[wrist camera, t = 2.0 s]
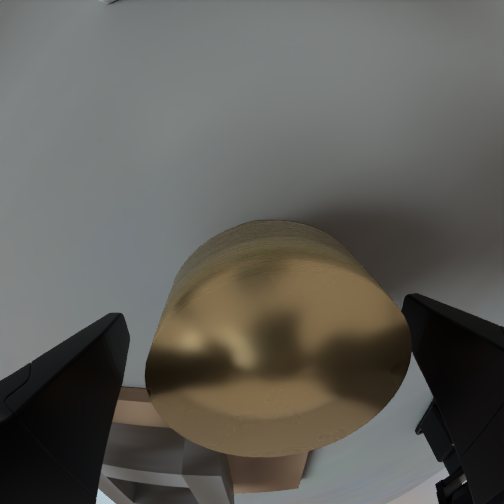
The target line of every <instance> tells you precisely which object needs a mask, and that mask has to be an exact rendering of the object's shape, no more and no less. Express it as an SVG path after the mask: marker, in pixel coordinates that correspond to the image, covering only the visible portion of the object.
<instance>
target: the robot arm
mask: <svg viewBox="0 0 504 504" xmlns="http://www.w3.org/2000/svg"><path fill="white" fill-rule="evenodd" d="M401 312H402V314H403V315H404V317H405V319H406V321H407V324H408V326H409V329H410V334H411V339H412V352H413V355H414V357H415V359H416V361H417V364H418V366H419V368H420V370H421V372H422V374H423V376H424V378H425V380H426V382H427V384H428V386H429V388H430V390H431V393H432V395H433V397H434V399H433V401H432V403H431V404H430V406H429V408H428V410H427V411H426V413H425V415H424V416H423V418H422V420H421V421H420V423H419V425H418V426H417V428H416V429H415V432H416V434H417V435H420V434H422V433H424V435H425V437H426V439H427V441H428V443H429V445H430V447H431V449H432V451H433V453H434V455H435V457H436V459H437V461H438V462H443V463H444V465H445V467H446V469H447V471H448V473H449V475H450V476H448V477H447V478H446V479H444V480H441V481H439V482H438V483H436V484H435V485H436V489H437V497H438V502H439V504H504V327H502V326H499V325H497V324H494V323H492V322H489V321H487V320H484V319H482V318H479V317H477V316H474V315H472V314H469V313H467V312H464V311H462V310H459V309H457V308H454V307H451V306H449V305H446V304H444V303H441V302H439V301H436V300H433V299H431V298H428V297H426V296H423V295H420V294H418V293H414V294H408V295H406V296H405V298H404V302H403V306H402V310H401ZM129 343H130V335H129V331H128V328H127V325H126V321H125V318H124V316H123V314H122V313H109V314H107V315H105V316H104V317H102V318H101V319H99V320H97V321H96V322H94V323H92V324H91V325H89V326H88V327H86V328H84V329H83V330H81V331H80V332H78V333H76V334H75V335H73V336H71V337H70V338H68V339H67V340H65V341H63V342H62V343H60V344H59V345H57V346H56V347H54V348H52V349H51V350H49V351H48V352H46V353H44V354H43V355H41V356H40V357H38V358H37V359H35V360H33V361H32V363H29V364H27V365H26V366H24V367H22V368H21V369H19V370H18V371H16V372H14V373H13V374H11V375H9V376H8V377H6V378H4V379H2V380H1V381H0V504H96V497H97V492H98V486H99V480H100V475H101V470H102V465H103V460H104V455H105V451H106V446H107V442H108V437H109V433H110V429H111V425H112V421H113V417H114V413H115V409H116V405H117V401H118V397H119V394H120V390H121V386H122V382H123V378H124V372H125V366H126V360H127V354H128V349H129ZM465 480H467V482H466V483H465V484H463V485H462V483H463V482H464V481H465Z"/></svg>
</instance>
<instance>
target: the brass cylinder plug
mask: <svg viewBox="0 0 504 504" xmlns="http://www.w3.org/2000/svg"><path fill="white" fill-rule="evenodd" d="M411 353H412V339H411V334H410V329H409V326H408V324H407V321H406V319H405V317H404V315H403V314H402V312H401V311H400V309H399V308H398V306H397V305H396V304H395V303H394V302H393V300H392V299H391V298H390V297H389V296H388V295H387V293H386V292H385V291H384V290H383V289H382V288H381V287H380V285H379V284H378V283H377V282H376V281H375V280H374V279H373V278H372V276H371V275H370V274H369V273H368V272H367V271H366V270H365V269H364V267H363V266H362V265H361V264H360V263H359V262H358V261H357V260H356V259H355V258H354V257H353V255H352V254H351V253H350V252H349V251H348V250H347V249H346V248H345V247H344V246H343V245H342V244H341V243H339V242H338V241H337V240H336V239H334V238H333V237H331V236H330V235H328V234H327V233H325V232H323V231H321V230H319V229H317V228H314V227H311V226H308V225H305V224H302V223H297V222H291V221H281V220H267V221H262V220H259V221H251V222H247V223H244V224H241V225H238V226H237V227H234V228H231V229H229V230H226V231H224V232H222V233H220V234H218V235H216V236H215V237H213V238H211V239H210V240H208V241H207V242H206V243H204V244H203V245H201V246H200V247H199V248H198V249H197V250H196V251H195V252H194V253H193V254H192V255H191V256H190V257H189V258H188V259H187V261H186V262H185V263H184V264H183V266H182V267H181V269H180V271H179V272H178V274H177V276H176V278H175V280H174V283H173V286H172V288H171V291H170V294H169V297H168V299H167V302H166V305H165V308H164V311H163V313H162V316H161V319H160V322H159V325H158V328H157V331H156V334H155V337H154V340H153V343H152V346H151V349H150V352H149V355H148V358H147V361H146V368H145V383H146V389H147V392H148V396H149V399H150V401H151V403H152V405H153V407H154V408H155V410H156V411H157V413H158V414H159V415H160V417H161V418H162V419H163V420H164V421H165V422H166V423H167V424H168V425H169V426H170V427H171V428H172V429H173V430H175V431H176V432H177V433H179V434H180V435H182V436H183V437H185V438H186V439H188V440H190V441H192V442H194V443H196V444H198V445H200V446H203V447H205V448H208V449H211V450H214V451H217V452H221V453H225V454H230V455H236V456H244V457H280V456H287V455H294V454H299V453H303V452H307V451H311V450H314V449H318V448H321V447H323V446H326V445H328V444H331V443H333V442H336V441H338V440H340V439H342V438H344V437H346V436H348V435H349V434H351V433H353V432H354V431H356V430H358V429H359V428H361V427H362V426H363V425H365V424H366V423H368V422H369V421H370V420H371V419H372V418H374V417H375V416H376V415H377V414H378V413H379V412H380V411H381V410H382V409H383V408H384V407H385V406H386V405H387V404H388V403H389V401H390V400H391V399H392V398H393V397H394V395H395V394H396V392H397V391H398V389H399V387H400V386H401V384H402V382H403V380H404V378H405V376H406V373H407V370H408V367H409V364H410V359H411Z"/></svg>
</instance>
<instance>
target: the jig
mask: <svg viewBox="0 0 504 504" xmlns="http://www.w3.org/2000/svg"><path fill="white" fill-rule="evenodd" d="M308 452H309V451H307V452H303V453H299V454H294V455H287V456H280V457H244V456H236V455H230V454H225V453H221V452H217V451H214V450H211V449H208V448H205V447H203V446H200V445H198V444H196V443H194V442H192V441H190V440H188V439H186V438H185V437H183V436H182V435H180V434H179V433H177V432H176V431H175V430H173V429H172V428H171V427H170V426H169V425H168V424H167V423H166V422H165V421H164V420H163V419H162V418H161V417H160V415H159V414H158V413H157V411H156V410H155V408H154V407H153V405H152V403H151V401H150V399H149V396H148V392H147V389H140V388H127V387H121V390H120V394H119V397H118V401H117V405H116V409H115V413H114V417H113V421H112V425H111V429H110V433H109V437H108V442H107V446H106V451H105V455H104V460H103V465H102V470H101V475H100V480H99V486H98V488H99V489H100V490H101V491H102V492H103V493H104V494H106V495H107V496H108V497H109V498H110V499H111V500H113V501H114V502H115V503H116V504H234V493H256V492H269V491H279V490H288V489H296V488H298V487H299V484H300V481H301V477H302V474H303V470H304V466H305V463H306V459H307V455H308Z"/></svg>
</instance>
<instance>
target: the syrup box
mask: <svg viewBox="0 0 504 504" xmlns="http://www.w3.org/2000/svg"><path fill="white" fill-rule="evenodd" d="M100 1H101V2H102V3H106V4H109V3H111V2H113V1H115V0H100Z"/></svg>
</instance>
